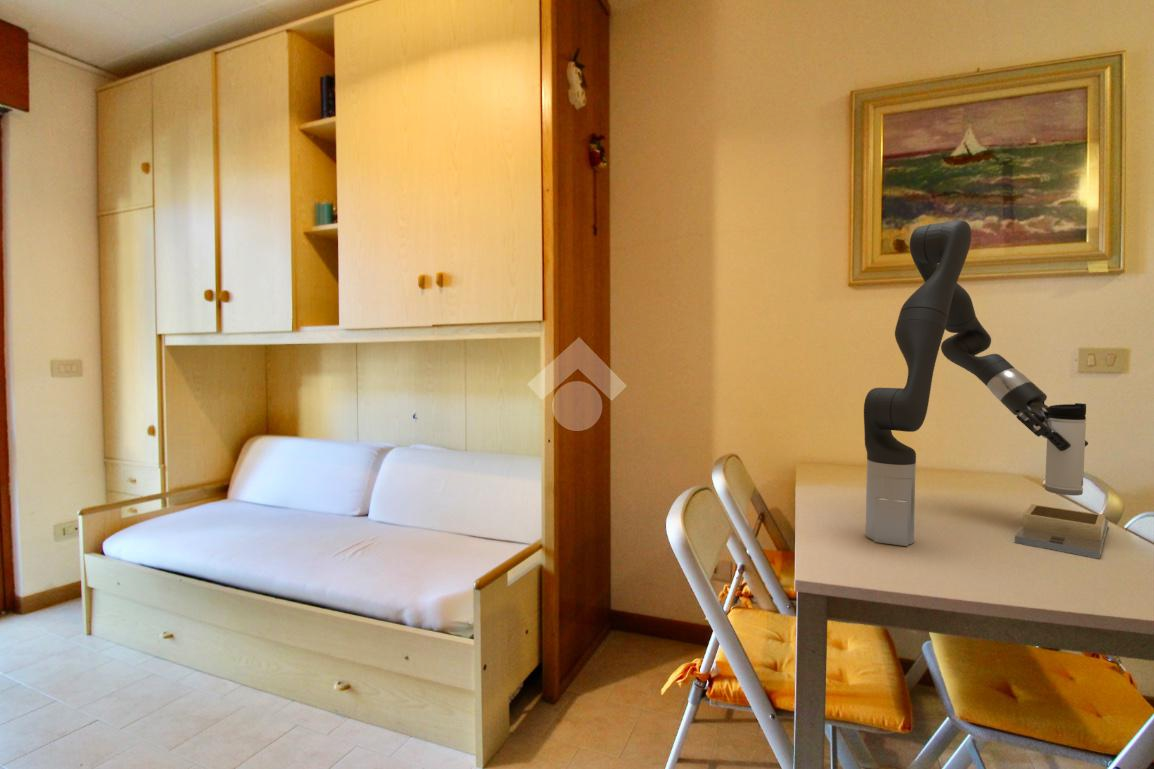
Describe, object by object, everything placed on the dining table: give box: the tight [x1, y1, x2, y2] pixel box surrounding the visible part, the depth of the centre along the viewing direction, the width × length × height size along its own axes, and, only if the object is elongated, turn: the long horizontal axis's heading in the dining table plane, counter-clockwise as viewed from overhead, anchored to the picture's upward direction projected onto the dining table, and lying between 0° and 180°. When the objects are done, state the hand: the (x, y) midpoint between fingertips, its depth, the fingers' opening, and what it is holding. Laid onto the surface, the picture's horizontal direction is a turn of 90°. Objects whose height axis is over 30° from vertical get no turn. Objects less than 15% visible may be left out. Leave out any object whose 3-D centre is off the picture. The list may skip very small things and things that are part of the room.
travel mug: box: [1044, 402, 1087, 496], centre depth 118 cm, size 6×7×20 cm
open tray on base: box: [1014, 503, 1109, 560], centre depth 119 cm, size 30×13×4 cm, turn 133°
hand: (1075, 447), depth 116 cm, fingers closed on travel mug, 6 cm apart
